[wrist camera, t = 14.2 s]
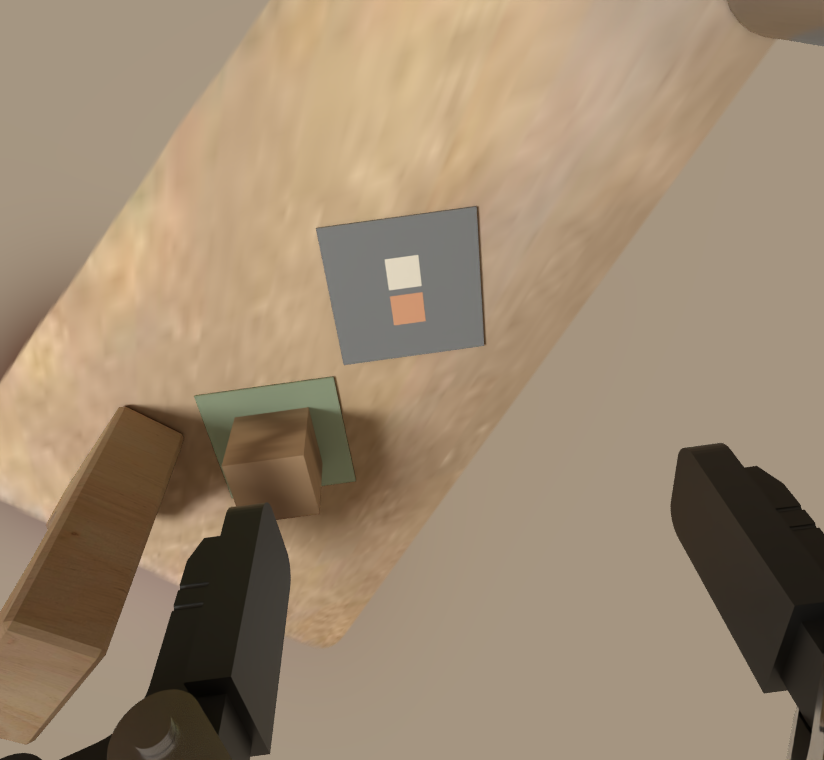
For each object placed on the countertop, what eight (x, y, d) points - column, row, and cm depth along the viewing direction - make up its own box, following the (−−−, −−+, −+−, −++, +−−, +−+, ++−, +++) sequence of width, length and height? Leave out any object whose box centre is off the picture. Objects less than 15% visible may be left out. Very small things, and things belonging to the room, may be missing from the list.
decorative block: (127, 515, 55) (29, 749, 39) (63, 487, 53) (-70, 723, 36) (189, 434, 51) (109, 658, 34) (123, 400, 49) (3, 623, 32)
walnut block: (308, 407, 50) (303, 455, 45) (322, 463, 54) (319, 513, 49) (234, 417, 50) (221, 466, 45) (253, 472, 54) (243, 524, 49)
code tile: (476, 206, 43) (476, 207, 42) (483, 344, 49) (484, 345, 48) (316, 228, 42) (316, 228, 42) (343, 364, 49) (343, 365, 48)
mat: (333, 376, 49) (333, 377, 49) (355, 480, 55) (355, 481, 55) (194, 395, 49) (194, 396, 49) (232, 497, 55) (232, 498, 55)
